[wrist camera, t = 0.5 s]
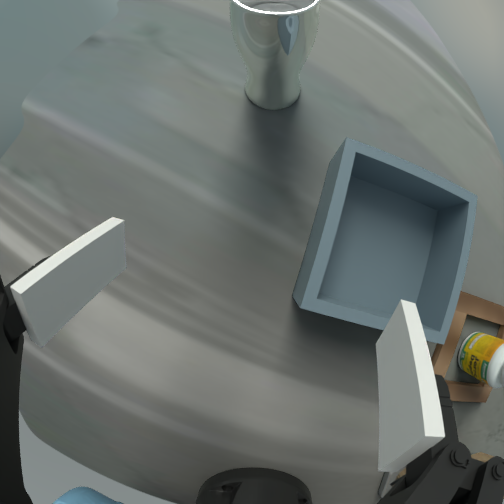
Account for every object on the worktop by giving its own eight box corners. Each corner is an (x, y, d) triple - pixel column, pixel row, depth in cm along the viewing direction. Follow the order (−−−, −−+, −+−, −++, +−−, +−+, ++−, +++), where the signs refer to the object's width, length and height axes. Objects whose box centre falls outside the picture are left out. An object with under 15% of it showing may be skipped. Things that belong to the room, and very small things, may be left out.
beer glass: (316, 96, 29) (344, 1, 14) (263, 124, 29) (261, 29, 14) (280, 57, 29) (285, -39, 14) (229, 81, 29) (208, -15, 14)
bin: (411, 328, 28) (443, 344, 21) (292, 295, 29) (300, 307, 22) (441, 206, 28) (477, 196, 21) (329, 162, 29) (346, 137, 22)
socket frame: (481, 399, 27) (485, 402, 26) (416, 393, 28) (420, 397, 27) (513, 311, 27) (518, 312, 26) (454, 289, 28) (459, 290, 27)
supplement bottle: (488, 354, 27) (534, 374, 18) (461, 378, 28) (504, 406, 18) (481, 322, 28) (531, 337, 18) (452, 347, 28) (500, 371, 18)
